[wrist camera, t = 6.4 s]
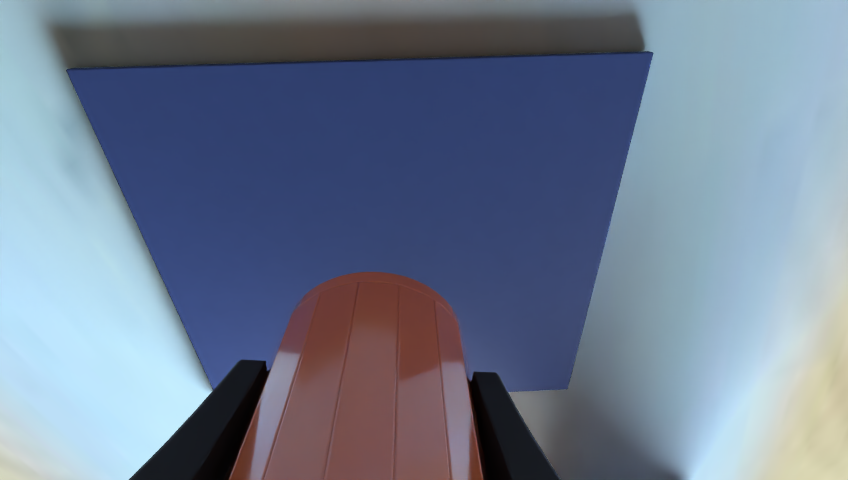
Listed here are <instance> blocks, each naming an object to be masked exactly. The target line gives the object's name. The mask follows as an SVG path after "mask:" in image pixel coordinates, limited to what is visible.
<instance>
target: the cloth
mask: <svg viewBox="0 0 848 480" xmlns="http://www.w3.org/2000/svg"><path fill="white" fill-rule="evenodd" d="M652 56H653V52H649V51H645V52H611V53H576V54H542V55H508V56H473V57H439V58H404V59H370V60H335V61H301V62H266V63H232V64H197V65H163V66H129V67H94V68H71V69H67V70H66V71H67V73H68V75H69V78H70V80H71V82H72V84H73V86H74V88H75V91H76V93H77V95H78V97H79V99H80V101H81V104H82V106H83V108H84V110H85V112H86V115H87V117H88V119H89V121H90V123H91V125H92V128H93V130H94V132H95V134H96V136H97V138H98V141H99V143H100V145H101V147H102V149H103V151H104V154H105V156H106V158H107V160H108V162H109V164H110V167H111V169H112V171H113V173H114V175H115V177H116V180H117V182H118V184H119V186H120V188H121V191H122V193H123V195H124V197H125V199H126V201H127V204H128V206H129V208H130V210H131V212H132V214H133V217H134V219H135V221H136V223H137V225H138V227H139V230H140V232H141V234H142V236H143V238H144V240H145V243H146V245H147V247H148V249H149V251H150V253H151V256H152V258H153V260H154V262H155V264H156V267H157V269H158V271H159V273H160V275H161V277H162V280H163V282H164V284H165V286H166V288H167V290H168V293H169V295H170V297H171V299H172V301H173V303H174V306H175V308H176V310H177V312H178V314H179V316H180V319H181V321H182V323H183V325H184V327H185V329H186V332H187V334H188V336H189V338H190V340H191V343H192V345H193V347H194V349H195V351H196V353H197V356H198V358H199V360H200V362H201V364H202V366H203V369H204V371H205V373H206V375H207V377H208V379H209V382H210V384H211V386H212V388H213V390H214V389H215V388H216V387H217V386H218V384H219V383H220V382H221V381H222V380H223V378H224V377H225V376H226V375H227V374H228V373H229V371H230V370H231V369H232V368H233V367H234V365H235V364H236V363H237V362H238V361H240V360H241V359H243V360H262V361H266V366H267V370H268V367H269V365H270V362H271V360H272V357H273V355H274V352H275V350H276V347H277V344H278V342H279V339H280V337H281V335H282V333H283V331H284V329H285V327H286V324H287V322H288V319H289V317H290V314H291V312H292V310H293V309H294V307H295V305H296V304H297V303H298V302H299V301H300V299H301V298H302V297H303V296H304V295H305V294H307V293H308V292H309V291H310V290H312V289H313V288H315V287H316V286H318V285H319V284H321V283H323V282H325V281H328V280H330V279H332V278H335V277H338V276H342V275H346V274H351V273H357V272H386V273H394V274H398V275H402V276H406V277H409V278H411V279H414V280H417V281H419V282H421V283H423V284H425V285H427V286H428V287H430V288H431V289H433V290H435V291H436V292H437V293H438V294H440V295H441V296H442V297H443V298H444V299H445V300H446V301H447V302H448V303H449V305H450V306H451V307H452V309H453V310H454V312H455V313H456V315H457V318H458V320H459V322H460V327H461V331H462V337H463V341H464V344H465V347H466V353H467V359H468V365H469V370H470V376H471V380H472V376H473V372H474V371H477V372H496V373H497V374H498V375H499V376H500V378H501V380H502V382H503V384H504V386H505V388H506V390H507V392H518V391H539V390H561V389H568V386H569V382H570V378H571V374H572V370H573V366H574V362H575V358H576V354H577V350H578V346H579V342H580V339H581V335H582V331H583V327H584V323H585V319H586V315H587V311H588V307H589V303H590V299H591V295H592V292H593V288H594V284H595V280H596V276H597V272H598V268H599V264H600V260H601V256H602V252H603V248H604V244H605V241H606V237H607V233H608V229H609V225H610V221H611V217H612V213H613V209H614V205H615V201H616V197H617V193H618V190H619V186H620V182H621V178H622V174H623V170H624V166H625V162H626V158H627V154H628V150H629V146H630V142H631V139H632V135H633V131H634V127H635V123H636V119H637V115H638V111H639V107H640V103H641V99H642V95H643V91H644V88H645V84H646V80H647V76H648V72H649V68H650V64H651V60H652Z"/></svg>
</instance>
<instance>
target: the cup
mask: <svg viewBox="0 0 848 480" xmlns="http://www.w3.org/2000/svg"><path fill="white" fill-rule="evenodd" d="M225 480H488V475H487V469H486V463H485V457H484V451H483V446H482V440H481V434H480V428H479V423H478V417H477V412H476V406H475V400H474V395H473V389H472V383H471V376H470V370H469V365H468V359H467V353H466V347H465V344H464V341H463V337H462V331H461V327H460V322H459V320H458V318H457V315H456V313H455V312H454V310H453V309H452V307H451V306H450V305H449V303H448V302H447V301H446V300H445V299H444V298H443V297H442V296H441V295H440V294H438V293H437V292H436V291H435V290H433V289H431V288H430V287H428V286H427V285H425V284H423V283H421V282H419V281H417V280H414V279H411V278H409V277H406V276H402V275H398V274H394V273H386V272H357V273H351V274H346V275H342V276H338V277H335V278H332V279H330V280H328V281H325V282H323V283H321V284H319V285H318V286H316V287H315V288H313V289H312V290H310V291H309V292H308V293H307V294H305V295H304V296H303V297H302V298H301V299H300V301H299V302H298V303H297V304H296V305H295V307H294V309H293V310H292V312H291V314H290V317H289V319H288V322H287V324H286V327H285V329H284V331H283V333H282V335H281V337H280V339H279V342H278V344H277V347H276V350H275V352H274V355H273V357H272V360H271V362H270V365H269V367H268V370H267V373H266V375H265V378H264V381H263V383H262V386H261V388H260V391H259V393H258V396H257V398H256V401H255V404H254V406H253V409H252V411H251V414H250V416H249V419H248V421H247V424H246V426H245V429H244V431H243V434H242V436H241V439H240V442H239V444H238V447H237V449H236V452H235V454H234V457H233V459H232V462H231V465H230V467H229V470H228V472H227V475H226V477H225Z"/></svg>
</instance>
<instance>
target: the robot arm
mask: <svg viewBox="0 0 848 480" xmlns="http://www.w3.org/2000/svg"><path fill="white" fill-rule="evenodd" d="M266 373H267V366H266V361H262V360H243V359H241V360H240V361H238V362H237V363H236V364H235V365H234V367H233V368H232V369H231V370H230V371H229V373H228V374H227V375H226V376H225V377H224V378H223V380H222V381H221V382H220V383H219V384H218V386H217V387H216V388H215V389H214V390H213V391H212V392H211V394H210V395H209V396H208V397H207V398H206V399H205V400H204V402H203V403H202V404H201V405H200V406H199V407H198V408H197V409H196V411H195V412H194V413H193V414H192V415H191V416H190V417H189V418H188V419H187V420H186V421H185V423H184V424H183V425H182V426H181V427H180V428H179V429H178V430H177V431H176V432H175V433H174V434H173V435H172V437H171V438H170V439H169V440H168V441H167V442H166V443H165V444H164V445H163V446H162V447H161V448H160V449H159V450H158V451H157V452H156V453H155V454H154V455H153V456H152V457H151V458H150V459H149V460H148V461H147V462H146V463H145V464H144V465H143V466H142V467H141V468H140V469H139V470H138V471H137V472H136V473H135V474H134V475H133V476H132V477H131V478H130V479H129V480H225V477H226V475H227V472H228V470H229V467H230V465H231V462H232V459H233V457H234V454H235V452H236V449H237V447H238V444H239V442H240V439H241V436H242V434H243V431H244V429H245V426H246V424H247V421H248V419H249V416H250V414H251V411H252V409H253V406H254V404H255V401H256V398H257V396H258V393H259V391H260V388H261V386H262V383H263V381H264V378H265V375H266ZM471 383H472V389H473V395H474V400H475V406H476V412H477V417H478V423H479V428H480V434H481V440H482V446H483V451H484V457H485V463H486V469H487V475H488V480H561V479H560V477H559V476H558V474H557V473H556V471H555V470H554V468H553V467H552V465H551V464H550V462H549V461H548V459H547V457H546V456H545V454H544V453H543V451H542V449H541V448H540V446H539V445H538V443H537V441H536V440H535V438H534V437H533V435H532V433H531V432H530V430H529V428H528V427H527V425H526V423H525V422H524V420H523V418H522V417H521V415H520V413H519V411H518V410H517V408H516V406H515V404H514V402H513V401H512V399H511V397H510V395H509V393H508V392H507V390H506V388H505V386H504V384H503V382H502V380H501V378H500V376H499V375H498V374H497V373H496V372H477V371H474V372H473V376H472V380H471Z"/></svg>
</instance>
